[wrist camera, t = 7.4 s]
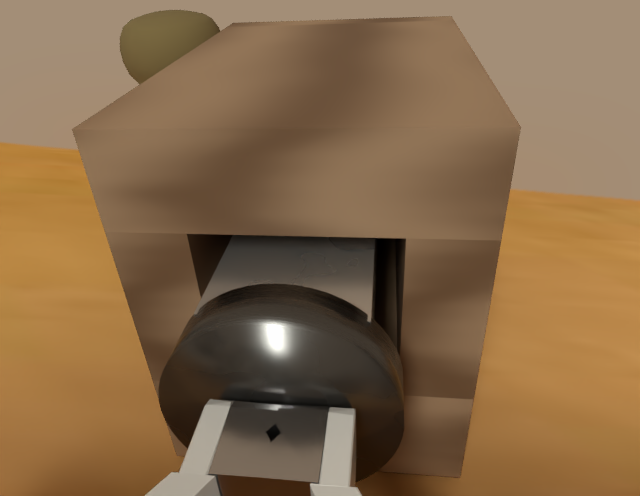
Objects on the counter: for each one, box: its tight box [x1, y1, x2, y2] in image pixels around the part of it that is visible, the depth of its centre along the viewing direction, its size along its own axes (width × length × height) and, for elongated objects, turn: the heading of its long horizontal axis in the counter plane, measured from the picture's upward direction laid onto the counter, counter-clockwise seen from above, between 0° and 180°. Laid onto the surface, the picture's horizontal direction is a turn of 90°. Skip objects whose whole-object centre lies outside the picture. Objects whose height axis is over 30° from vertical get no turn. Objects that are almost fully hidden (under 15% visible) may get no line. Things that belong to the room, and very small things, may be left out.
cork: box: [120, 10, 220, 84], centre depth 28 cm, size 6×6×11 cm
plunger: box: [158, 235, 404, 482], centre depth 16 cm, size 5×13×5 cm, turn 173°
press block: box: [72, 16, 521, 478], centre depth 18 cm, size 9×13×11 cm
